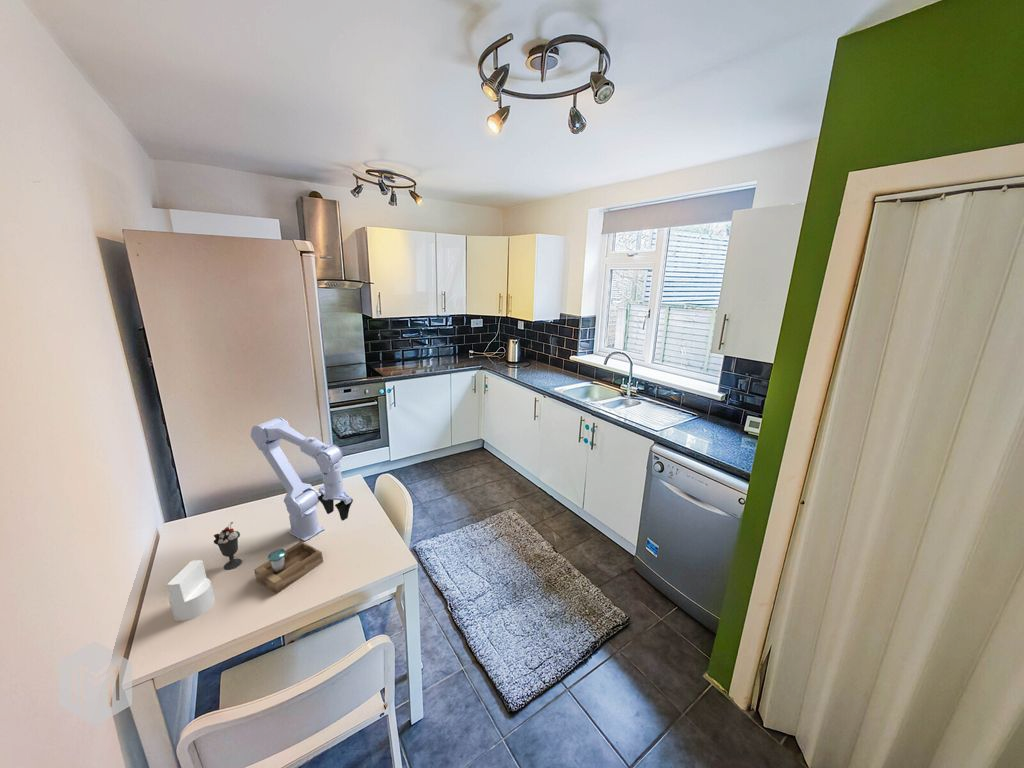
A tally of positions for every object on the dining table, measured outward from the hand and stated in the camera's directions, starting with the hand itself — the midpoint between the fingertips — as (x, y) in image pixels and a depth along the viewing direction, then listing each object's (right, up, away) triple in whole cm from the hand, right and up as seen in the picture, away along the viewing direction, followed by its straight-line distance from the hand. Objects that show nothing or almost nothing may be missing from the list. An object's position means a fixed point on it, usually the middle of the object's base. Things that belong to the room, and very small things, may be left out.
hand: (337, 515), depth 131 cm
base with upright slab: (-29, -17, -25) cm, 42 cm away
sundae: (-30, -13, -9) cm, 34 cm away
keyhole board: (-9, -13, -12) cm, 20 cm away
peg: (-11, -13, -15) cm, 23 cm away
